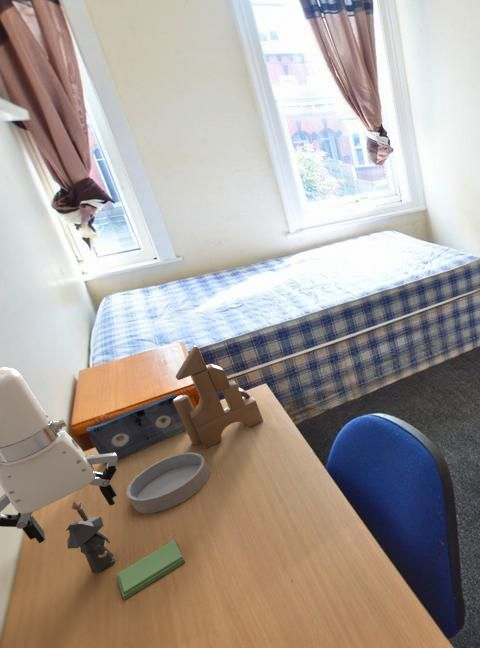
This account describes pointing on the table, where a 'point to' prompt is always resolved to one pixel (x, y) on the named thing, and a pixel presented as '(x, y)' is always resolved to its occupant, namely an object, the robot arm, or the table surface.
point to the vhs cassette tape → (137, 428)
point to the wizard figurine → (90, 540)
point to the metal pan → (168, 482)
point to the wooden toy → (212, 402)
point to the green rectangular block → (149, 569)
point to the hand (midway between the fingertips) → (78, 518)
